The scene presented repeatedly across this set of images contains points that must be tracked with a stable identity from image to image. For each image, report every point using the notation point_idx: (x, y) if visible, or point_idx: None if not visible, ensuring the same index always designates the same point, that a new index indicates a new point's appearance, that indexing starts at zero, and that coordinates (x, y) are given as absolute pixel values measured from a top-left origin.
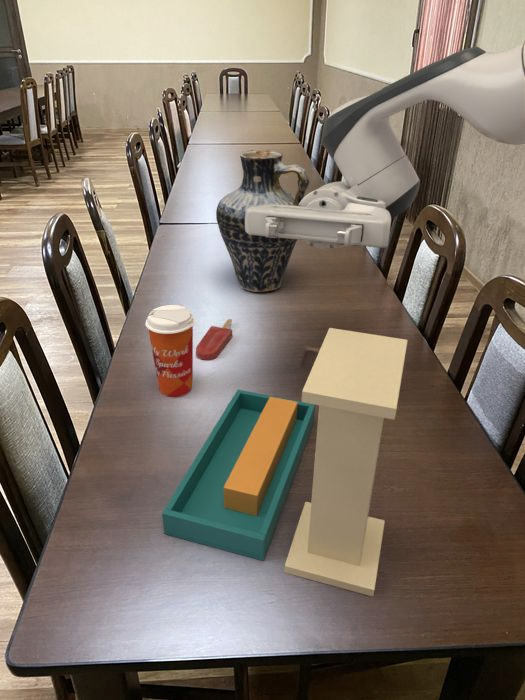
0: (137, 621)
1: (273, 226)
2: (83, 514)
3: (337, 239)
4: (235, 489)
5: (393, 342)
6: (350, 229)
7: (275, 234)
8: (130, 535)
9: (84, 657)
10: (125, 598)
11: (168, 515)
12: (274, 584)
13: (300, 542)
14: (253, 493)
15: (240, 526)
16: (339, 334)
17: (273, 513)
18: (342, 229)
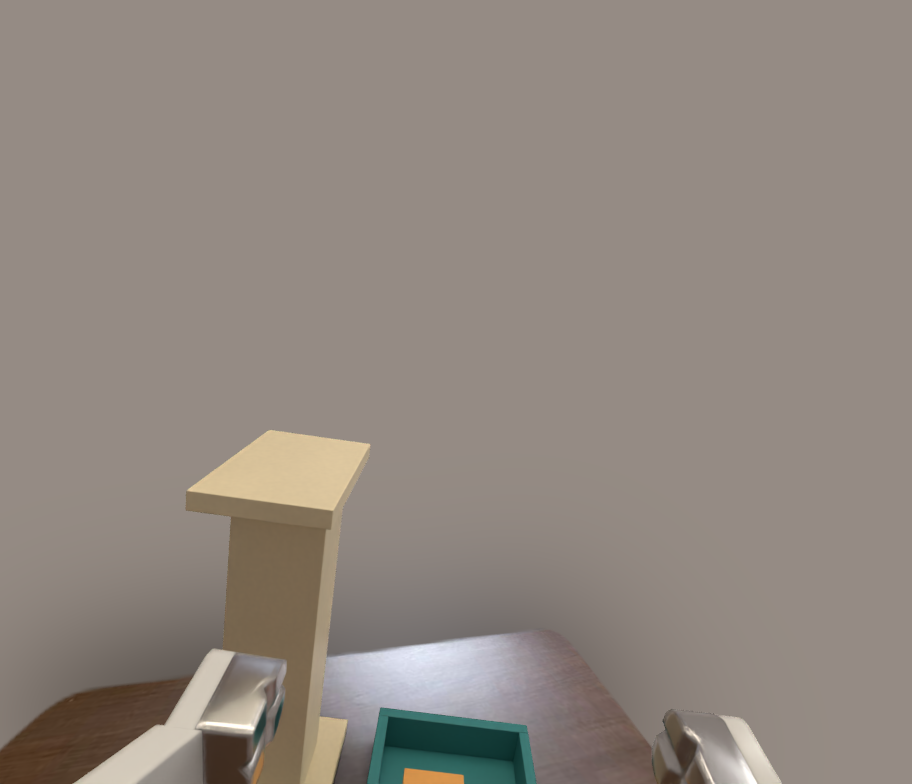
0: (485, 662)
1: (687, 713)
2: (641, 771)
3: (281, 685)
4: (443, 773)
5: (219, 486)
6: (172, 716)
7: (655, 739)
8: (558, 750)
9: (508, 635)
10: (509, 679)
11: (516, 724)
12: (357, 715)
13: (326, 756)
14: (412, 770)
15: None
16: (316, 498)
17: (373, 750)
18: (240, 702)
